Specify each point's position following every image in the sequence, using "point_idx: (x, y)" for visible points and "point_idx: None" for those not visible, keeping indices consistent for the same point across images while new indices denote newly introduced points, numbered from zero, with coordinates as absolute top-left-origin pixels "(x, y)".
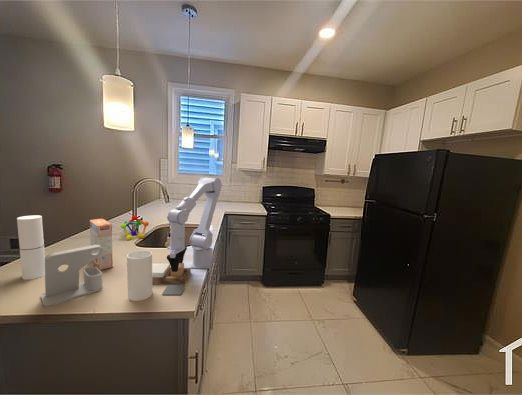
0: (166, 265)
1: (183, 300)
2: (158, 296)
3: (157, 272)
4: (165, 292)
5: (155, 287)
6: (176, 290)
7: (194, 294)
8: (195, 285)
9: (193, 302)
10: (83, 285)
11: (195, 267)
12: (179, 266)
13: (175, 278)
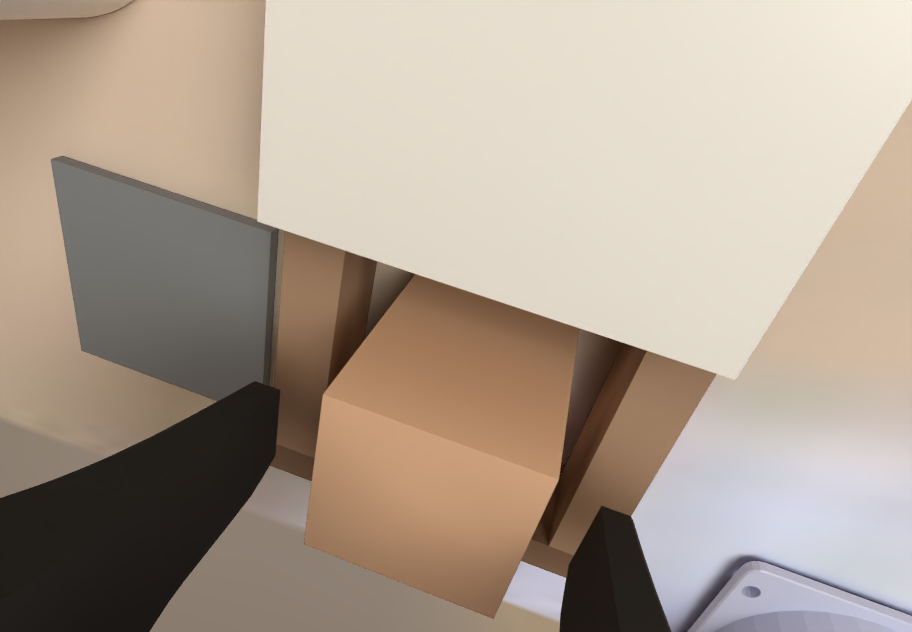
0: (646, 296)
1: (22, 353)
2: (34, 112)
3: (272, 92)
4: (92, 199)
5: (237, 45)
6: (146, 319)
7: (122, 446)
8: (275, 489)
9: (14, 416)
10: None
11: (713, 609)
12: (350, 531)
13: (276, 361)
